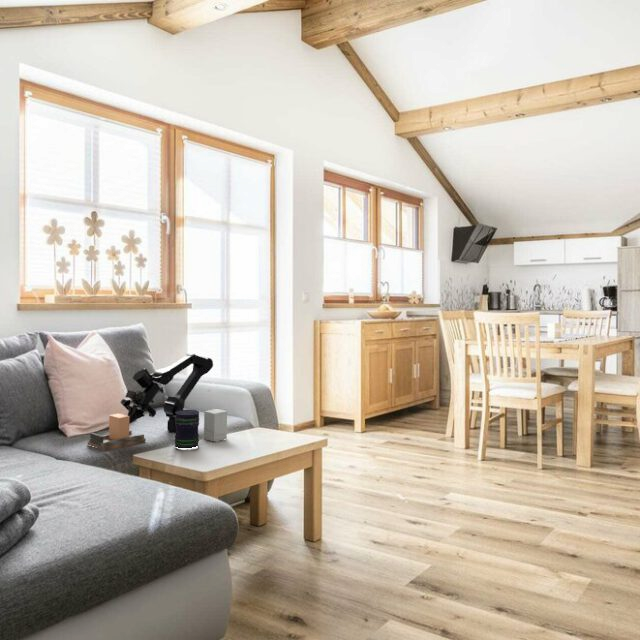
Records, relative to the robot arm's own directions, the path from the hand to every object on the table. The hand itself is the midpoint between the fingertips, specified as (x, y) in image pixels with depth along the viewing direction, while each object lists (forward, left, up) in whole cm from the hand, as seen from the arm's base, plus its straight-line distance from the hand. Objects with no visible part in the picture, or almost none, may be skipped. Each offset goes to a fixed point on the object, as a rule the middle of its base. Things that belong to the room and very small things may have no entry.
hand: (126, 423), depth 276 cm
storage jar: (-25, +11, -8) cm, 29 cm away
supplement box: (-38, -1, -8) cm, 38 cm away
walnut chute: (+3, +3, -8) cm, 9 cm away
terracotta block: (+3, +2, -6) cm, 7 cm away
